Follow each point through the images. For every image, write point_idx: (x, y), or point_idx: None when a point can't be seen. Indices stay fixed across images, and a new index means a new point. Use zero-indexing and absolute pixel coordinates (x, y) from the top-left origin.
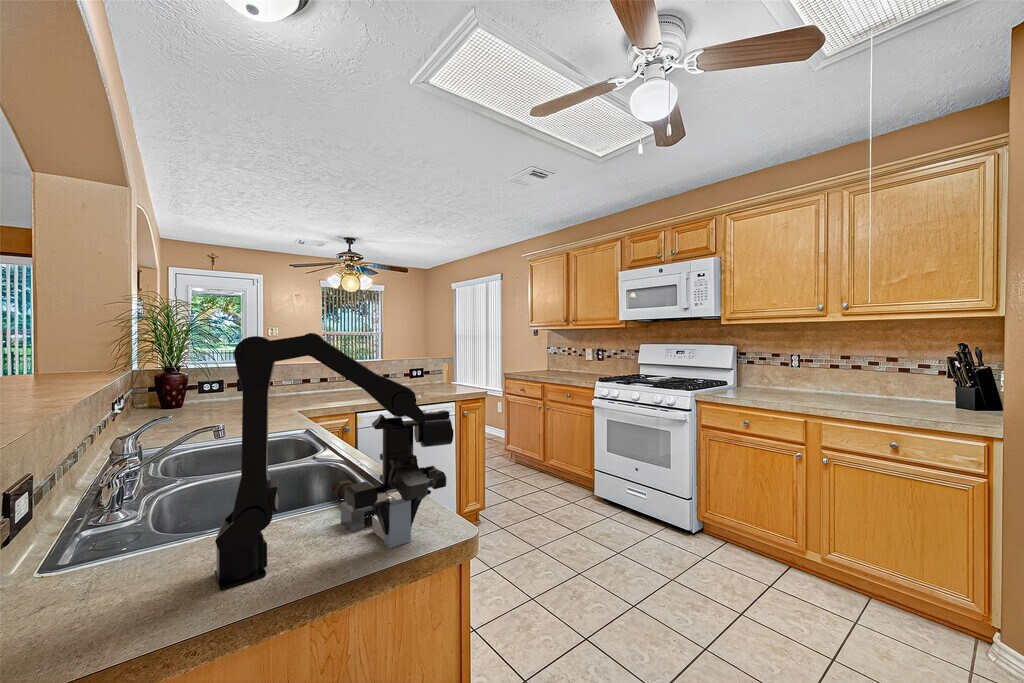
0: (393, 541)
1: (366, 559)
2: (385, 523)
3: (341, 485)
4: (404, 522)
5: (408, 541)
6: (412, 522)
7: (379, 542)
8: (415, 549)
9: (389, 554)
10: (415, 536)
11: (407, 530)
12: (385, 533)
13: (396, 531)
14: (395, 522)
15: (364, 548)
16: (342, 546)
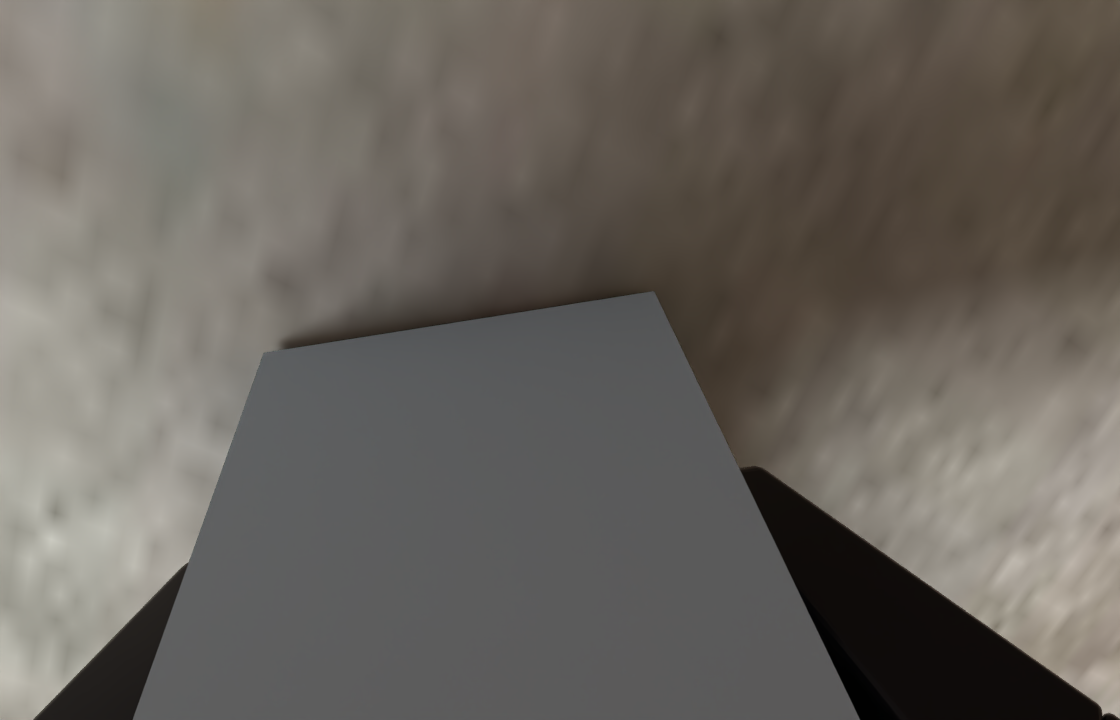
0: (602, 350)
1: (1065, 156)
2: (944, 629)
3: None
4: (351, 622)
5: (307, 353)
6: (128, 629)
7: None
8: (240, 41)
9: (722, 119)
10: (152, 481)
11: (297, 477)
12: (771, 494)
13: (563, 468)
14: (631, 631)
15: (908, 463)
16: (1056, 599)
